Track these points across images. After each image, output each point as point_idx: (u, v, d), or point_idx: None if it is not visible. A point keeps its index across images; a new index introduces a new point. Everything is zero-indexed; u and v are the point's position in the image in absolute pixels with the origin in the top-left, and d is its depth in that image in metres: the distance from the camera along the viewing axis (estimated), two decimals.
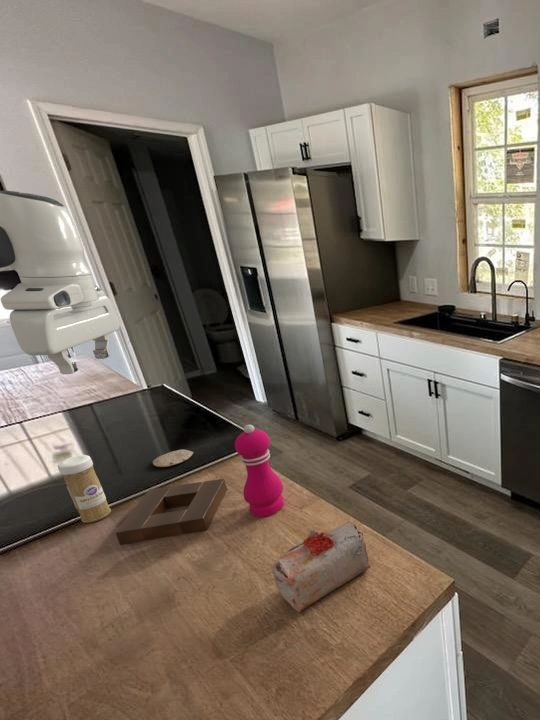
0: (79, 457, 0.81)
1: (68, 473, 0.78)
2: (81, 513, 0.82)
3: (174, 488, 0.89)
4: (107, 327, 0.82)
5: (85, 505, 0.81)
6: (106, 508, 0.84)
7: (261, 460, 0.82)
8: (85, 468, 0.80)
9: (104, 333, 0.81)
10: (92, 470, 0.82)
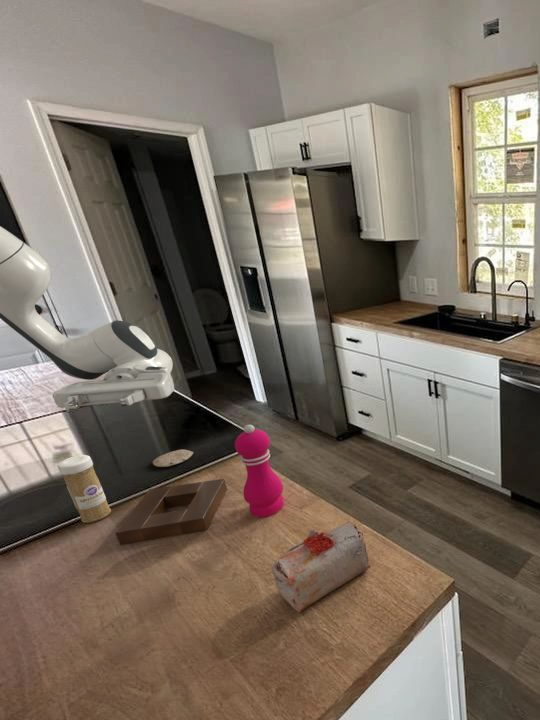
0: (79, 457, 0.81)
1: (68, 473, 0.78)
2: (81, 513, 0.82)
3: (174, 488, 0.89)
4: None
5: (85, 505, 0.81)
6: (106, 508, 0.84)
7: (261, 460, 0.82)
8: (85, 468, 0.80)
9: None
10: (92, 470, 0.82)
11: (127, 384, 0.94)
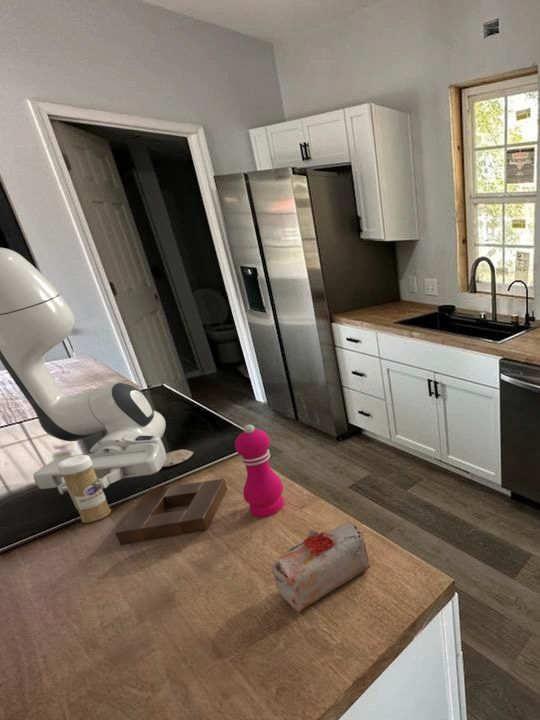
0: (79, 457, 0.81)
1: (68, 473, 0.78)
2: (81, 513, 0.82)
3: (174, 488, 0.89)
4: None
5: (85, 505, 0.81)
6: (105, 508, 0.84)
7: (261, 460, 0.82)
8: (85, 468, 0.80)
9: None
10: (92, 470, 0.82)
11: (115, 459, 0.88)
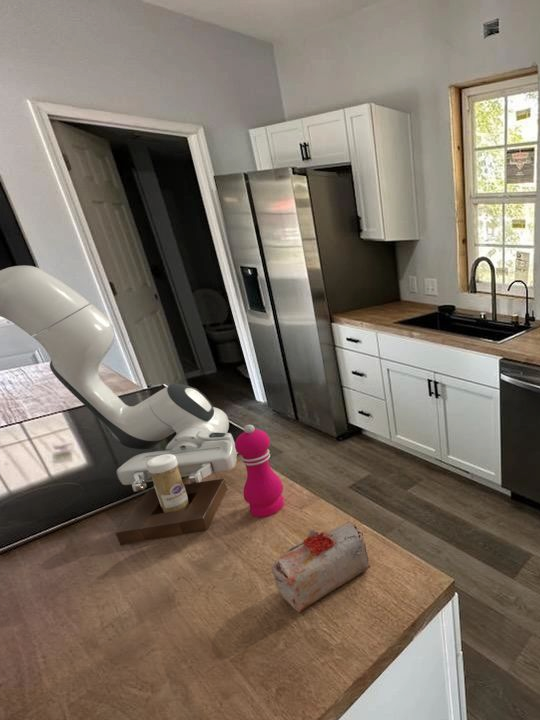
0: (165, 456, 0.82)
1: (157, 472, 0.79)
2: (166, 511, 0.83)
3: None
4: None
5: (170, 503, 0.82)
6: (188, 506, 0.85)
7: (261, 460, 0.83)
8: (172, 467, 0.81)
9: None
10: (177, 469, 0.83)
11: (193, 456, 0.88)
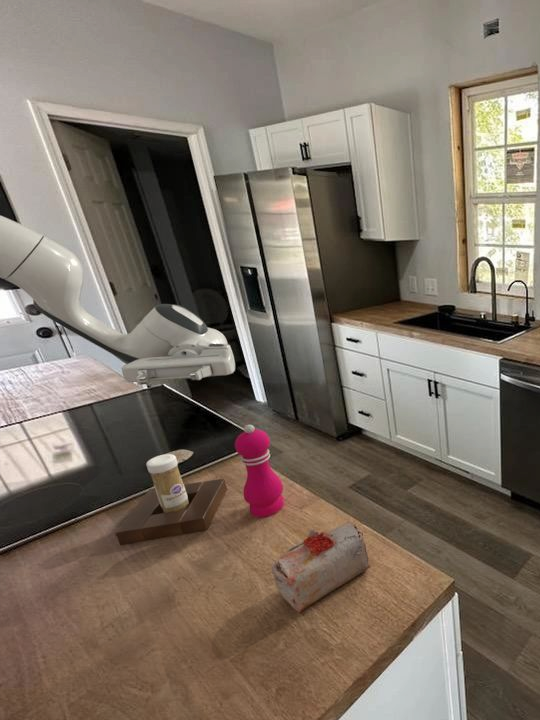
0: (165, 456, 0.82)
1: (157, 472, 0.79)
2: (166, 511, 0.83)
3: None
4: None
5: (170, 503, 0.82)
6: (188, 506, 0.85)
7: (261, 460, 0.82)
8: (172, 467, 0.81)
9: None
10: (177, 469, 0.83)
11: (193, 359, 0.93)
